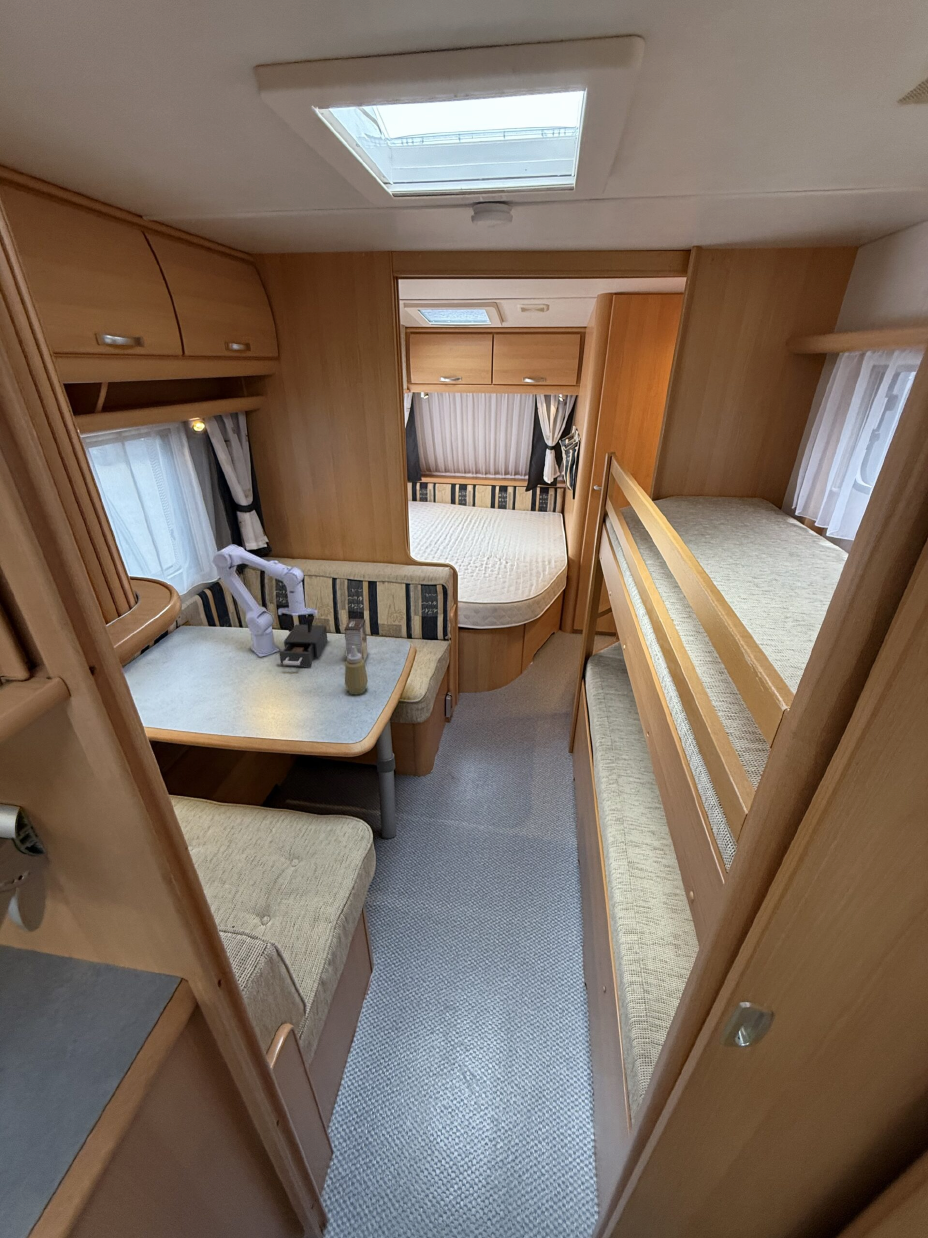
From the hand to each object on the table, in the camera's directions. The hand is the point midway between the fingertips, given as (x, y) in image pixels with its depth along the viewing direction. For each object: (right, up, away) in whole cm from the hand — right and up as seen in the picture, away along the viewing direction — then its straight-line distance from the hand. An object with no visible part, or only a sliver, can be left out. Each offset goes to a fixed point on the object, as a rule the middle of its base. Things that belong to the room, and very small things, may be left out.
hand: (300, 631), depth 194 cm
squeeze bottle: (+26, -21, -17) cm, 38 cm away
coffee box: (+22, -12, +2) cm, 25 cm away
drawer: (0, -11, -1) cm, 11 cm away
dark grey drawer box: (0, -8, +8) cm, 11 cm away
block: (0, -11, -3) cm, 11 cm away
